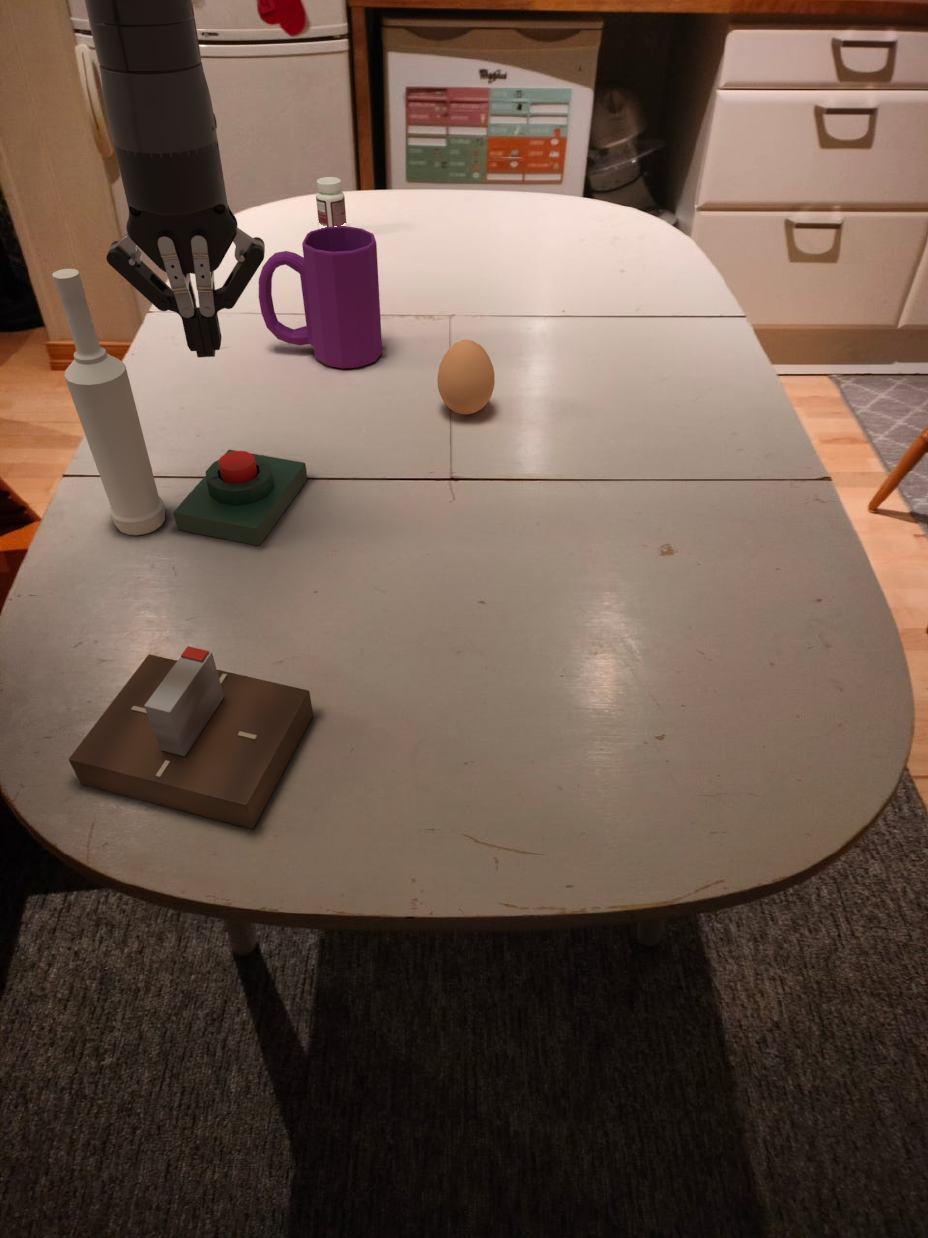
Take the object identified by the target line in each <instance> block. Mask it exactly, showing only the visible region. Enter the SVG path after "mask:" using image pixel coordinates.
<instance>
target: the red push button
mask: <svg viewBox="0 0 928 1238" xmlns="http://www.w3.org/2000/svg"><path fill="white" fill-rule="evenodd" d="M225 453H226V452H225ZM225 453H224V454H222V455H221V456H220V457H219V458H218V460H219V461H218V464H219V469H220V474H221V478H222V480H223V481H224V482H226V483H232V484H239V483H246V482H248V481H250V480H253V479H255V477H256V476H257V468H256V462H255V457H254V456H253V455H252V454H253V453H252V452H250V451H245V450H235V451H233V452H229V453H226V454H225ZM251 453H252V454H251Z"/></svg>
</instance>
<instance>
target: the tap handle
mask: <svg viewBox="0 0 928 1238" xmlns="http://www.w3.org/2000/svg"><path fill="white" fill-rule="evenodd" d="M217 670H218V669H217V665H216V661H215V658H214V654H213V652H212V651H209V650H206V649H202V648H197V647H193V646H189V645H187V646H186V648H185V649H184V650H183V652H182V653H181V655H180V656H179V658H178V659H177V662H176V663H175V665H174V666H173V667H172V669H171V670H170V671H169V673H168V674H167V676H166V677H165V678H164V680H163V681H162V682H161V684H160V685H159V686H158V688H157V689H156V690H155V692H154V693H153V694H152V696H151V697H150V699H149V700H148V701H147V703H146V704H145V705H144V707H145V709H146V712H147V715H148V717H149V720H150V723H151V725H152V728H153V731H154V733H155V736H156V739H157V741H158V744H159V747H160V749H161V750H162V751H165V752H169V753H173V754H177V755H181V756H186V754H187V753H188V751H189V750H190V748H191V747H192V745H193V744H194V742H195V741H196V739H197V737H198V736H199V734H200V733H201V731H202V730H203V728H204V727H205V725H206V724H207V722H208V721H209V719H210V718H211V716H212V715H213V713H214V712H215V710H216V709H217V707H218V705H219V704H220V702H221V701H222V699H223V698H224V694H223V691H222V687H221V683H220V680H219V676H218V672H217Z"/></svg>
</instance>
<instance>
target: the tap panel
mask: <svg viewBox="0 0 928 1238" xmlns="http://www.w3.org/2000/svg"><path fill="white" fill-rule="evenodd" d="M177 661H178V659H172V658H168V657H165V656H159V655H156V654H151V653H149V654H147V656H146V657H145V658H144V660H143V661H142V662H141V663H140V665H139V666H138V667H137V669H136V670H135V671H134V673H133V674H132V676H130V678H129V679H128V681H127V682H126V683H125V685H124V686H123V687H122V688H121V690H120V691H119V692H118V693H117V695H116V697H114V698H113V700H112V701H111V703H110V704H109V706H108V707H106V709H105V710H104V712H103V714H101V716H100V717H99V718H98V719H97V721H96V722H95V723H94V725H93V726H92V728H91V729H90V731H89V732H88V733H87V734H86V735H85V737H84V738H83V739H82V741H81V742H80V743H79V745H78V746H77V747H76V749H74V751H73V752H72V754H71V755H70V756H69V757H68V762H69V764H70V766H71V768H72V770H73V771H74V774H75V775H76V778H77V779H78V782H79V784H81V785H84V786H88V787H92V788H95V789H100V790H104V791H107V792H110V793H115V794H119V795H122V796H126V797H130V798H134V799H137V800H141V801H145V802H149V803H153V804H157V805H159V806H164V807H167V808H172V809H176V810H180V811H183V812H185V813H186V812H187V813H191V814H194V815H198V816H201V817H206V818H209V819H212V820H217V821H221V822H225V823H229V824H232V825H236V826H240V827H243V828H248V829H252V830H253V829H254V828H255V826H256V825H257V822H258V821H259V818H260V817H261V816H262V813H263V811H264V810H265V807H266V805H267V804H268V801H269V800H270V798H271V796H272V794H273V792H274V790H275V788H276V786H277V784H279V781H280V779H281V777H282V776H283V773H284V771H285V769H286V767H287V766H288V764H289V762H290V760H291V758H292V756H293V754H294V753H295V750H296V749H297V747H298V744H299V743H300V741H301V739H302V738H303V735H304V734H305V732H306V730H307V728H308V726H309V724H310V722H311V720H312V719H313V717H314V709H313V706H312V705H313V704H312V699H311V698H312V697H311V693H310V692H311V691H310V690H308V689H304V688H301V687H296V686H292V685H287V684H283V683H278V682H274V681H268V680H264V679H260V678H256V677H252V676H247V675H243V674H238V673H233V672H230V671H226V670H221V669H217V672H218V676H219V680H220V683H221V687H222V691H223V694H224V698H223V699H222V701H221V702H220V704H219V705H218V707H217V709H216V710H215V712H214V713H213V715H212V716H211V718H210V719H209V721H208V722H207V724H206V725H205V727H204V728H203V730H202V731H201V733H200V734H199V736H198V737H197V739H196V741H195V742H194V744H193V745H192V747H191V748H190V750H189V751H188V753H187V754H186V756H181V755H177V754H173V753H169V752H165V751H162V750H161V749H160V747H159V744H158V741H157V739H156V736H155V733H154V731H153V728H152V725H151V723H150V720H149V717H148V715H147V712H146V709H145V707H144V705H145V704H146V703H147V701H148V700H149V699H150V697H151V696H152V694H153V693H154V692H155V690H156V689H157V688H158V686H159V685H160V684H161V682H162V681H163V680H164V678H165V677H166V676H167V674H168V673H169V671H170V670H171V669H172V667H173V666H174V665H175V663H176V662H177Z"/></svg>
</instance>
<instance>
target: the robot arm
mask: <svg viewBox="0 0 928 1238" xmlns="http://www.w3.org/2000/svg"><path fill="white" fill-rule="evenodd" d="M84 4H85V9H86V14H87V18H88V23H89V28H90V32H91V37H92V41H93V45H94V50H95V53H96V59H97V62H98V67H99V72H100V78H101V89H102V98H103V105H104V110H105V114H106V118H107V122H108V127H109V130H110V131H109V132H110V135H111V139H112V143H113V147H114V152H115V156H116V160H117V161H116V162H117V165H118V170H119V174H120V177H121V182H122V186H123V190H124V195H125V200H126V204H127V208H128V218H127V222H126V224H125V225H126V226H125V227H126V233H125V235H124V236H123V237H121V238H120V240H114V241H112V243H111V244H110V246H109V249H108V252H107V253H106V262H107V263H108V264H109V266H110V267H111V268H112V269H114V270H115V271H116V272H117V273H118V274H119V275H120V276H121V277H122V278H123V279H124V280H125V281H127V282H128V283H129V284H130V285H131V286H132V287H133V288H134V289H136V290H137V291H138V292H139V293H140V294H141V295H142V296H143V297H144V298H146V299H147V300H148V301H149V303H151V304H152V305H153V306H154V307H155V308H156V309H157V310H159V311H160V312H167V311H170V312H174V313H176V314H178V316H180V318H181V321H182V327H183V331H184V337H185V340H186V345H187V347H188V349H189V351H190V352H196V356H197V358H214V357H216V351H220V350H221V345H222V338H223V337H222V331H221V327H220V320H219V315H218V313H219V312H220V311H221V310H231V309H233V308H234V307H235V305H236V304H237V302H238V301H239V299H240V298H241V296H242V294H243V293H244V291H245V290H246V288H247V287H248V285H249V283H250V282H251V280H252V279H253V277H254V276H255V274H256V272H257V270H258V269H259V267H260V266H261V264H262V263H263V262H264V259H265V254H266V253H265V252H266V247H265V246H266V244H265V241H264V240H263V239H262V238H261V237H258V236H255V237H253V236H251V235H250V234H248V233H246V232H245V231H244V230H242V229H240V228H239V227H238V220H237V218H236V216H235V214H234V213H233V212H232V210H231V208H230V206H229V202H228V197H227V190H226V183H225V178H224V172H223V166H222V165H223V164H222V160H221V152H220V147H219V140H218V139H219V138H218V134H217V129H218V125H217V118H216V115H215V113H214V107H213V102H212V98H211V97H212V96H211V93H210V88H209V84H208V82H207V79H206V75H205V70H204V67H203V61H202V54H201V48H200V42H199V37H198V30H197V24H196V17H195V11H194V4H193V0H84ZM232 244H234V245H235V247H234V258H235V260H236V261H237V262H236V263H235V265H234V267H232V270H231V272H230V273H229V275H228V276H227V278H226V280H225V281H224V283H223V285H222V286H221V287H219V288H216V283H215V271H217V269H218V268H219V267H220V265H221V264H222V262H223V260H224V259H225V257H226V255H227V254H228V251H229V249H230V247H231V246H232ZM140 250H141V251H142V252H143V253H144V254H145V255H146V256H147V257H148V258H149V260H151V261H152V262H153V263H154V265H156V267H157V268H158V269H160V271H162V272H165V273H166V275H167V279H168V282H169V285H170V286H169V285H168V284H167V283H166V282H165V281H164V280H163V279H161V278H160V276H159V275H158V274H156V273H155V271H153V270H152V269H151V268H150V267H149V266H148V265H147V264H146V263H144V261H143V254H142V252H141V251H140ZM191 274H192V275H194V278H195V286H196V290H197V297H198V306H197V298H196V294H195V289H194V287H193V286H194V285H193V282H192V280H191V279H192V278H191Z"/></svg>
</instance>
